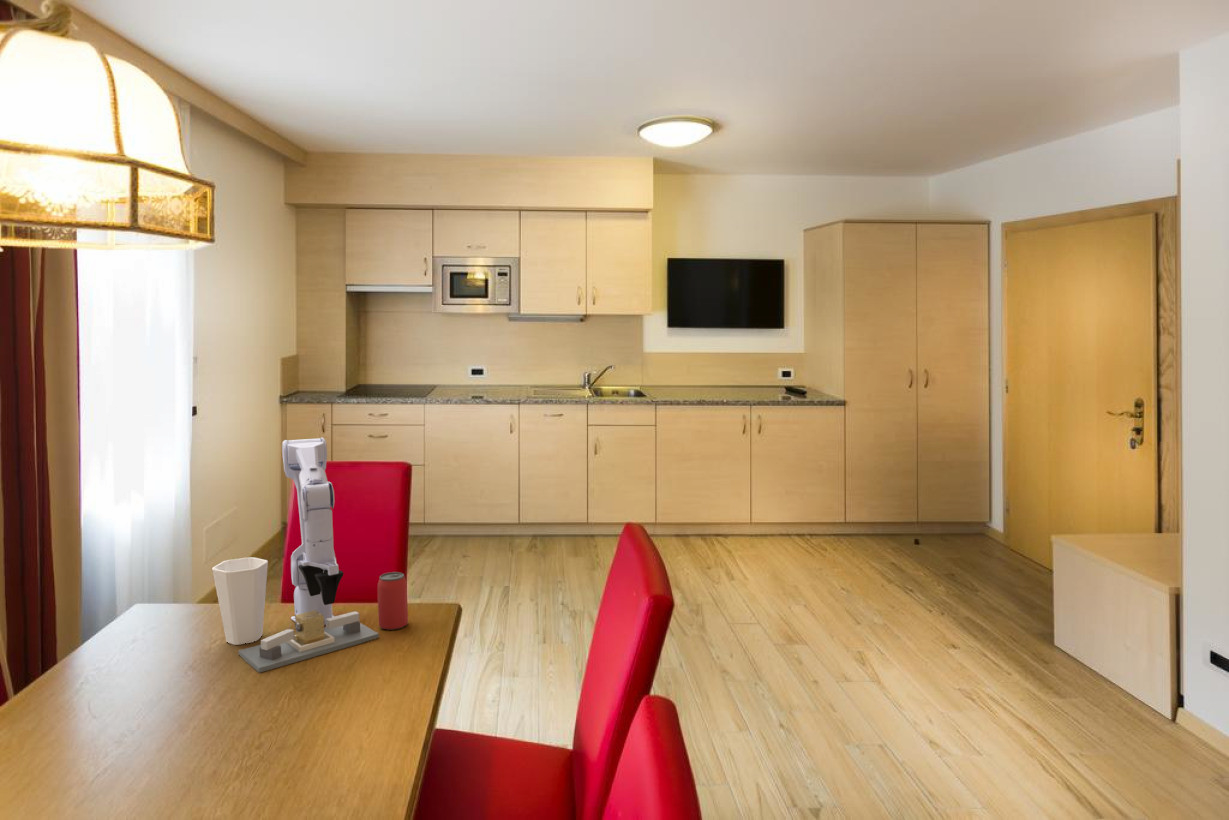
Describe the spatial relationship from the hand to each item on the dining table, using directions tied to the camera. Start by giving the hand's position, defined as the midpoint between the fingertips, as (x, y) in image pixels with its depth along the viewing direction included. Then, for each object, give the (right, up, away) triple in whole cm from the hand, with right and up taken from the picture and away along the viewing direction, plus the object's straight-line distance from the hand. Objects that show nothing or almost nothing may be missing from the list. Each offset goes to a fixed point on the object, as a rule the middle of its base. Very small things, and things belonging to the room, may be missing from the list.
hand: (321, 599), depth 175 cm
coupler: (-2, -9, -1) cm, 9 cm away
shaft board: (-2, -10, -1) cm, 10 cm away
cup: (-19, -10, +4) cm, 22 cm away
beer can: (+13, -9, +11) cm, 19 cm away
